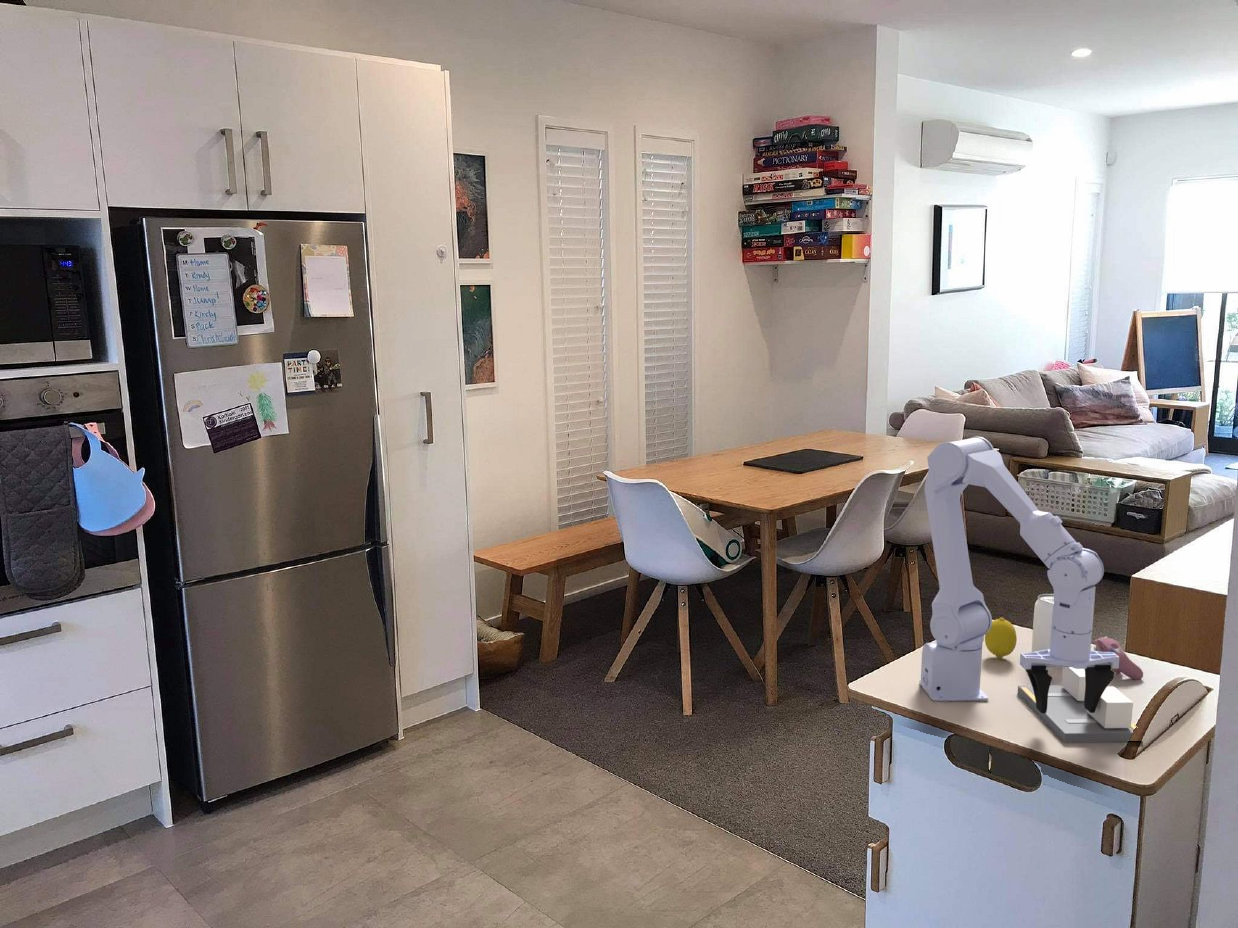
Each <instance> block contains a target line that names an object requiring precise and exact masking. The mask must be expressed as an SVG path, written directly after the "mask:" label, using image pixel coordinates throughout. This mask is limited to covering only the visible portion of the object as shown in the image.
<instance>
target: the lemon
mask: <svg viewBox="0 0 1238 928" xmlns="http://www.w3.org/2000/svg"><path fill="white" fill-rule="evenodd" d="M1017 638H1018V637H1017V632H1016V628H1015V626H1014V625H1013V624H1012V623H1011V622H1010V621H1008V620H1006V619H1005V618H1004V617H1000V618H996V619H994V620H992V626H991V629H990V630H989V631H988V633H986V634H985V635H984V643H985V647H986V648H987V650H988V652H990V653H991V654H992V655H993V656H995V657H996V658H997V659H1003V658H1004V657H1006V656H1009V655H1010V654H1012V653H1013V651H1014V650H1015V649H1016V645H1017V642H1018V641H1017V640H1018V639H1017Z"/></svg>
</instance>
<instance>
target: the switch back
mask: <svg viewBox="0 0 1238 928" xmlns="http://www.w3.org/2000/svg"><path fill="white" fill-rule="evenodd" d="M1061 685H1062V687H1063V688H1064V689H1065V690H1067V691H1068V692H1069V693H1070V694H1071V695H1072V696H1073V697H1074V698H1075V699H1076V700H1077V701H1084V697H1085V669H1075V668H1073V667H1062V676H1061Z"/></svg>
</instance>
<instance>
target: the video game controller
mask: <svg viewBox="0 0 1238 928" xmlns="http://www.w3.org/2000/svg"><path fill="white" fill-rule="evenodd" d="M1093 643H1094V645H1095V646H1093V651H1099V652H1113V653H1115V654H1116V655H1117V656H1119V667H1118V668H1111V670H1112V671H1113V672H1114V674H1116V675H1119V674H1120V673H1122V674H1123V675H1124V676H1126V677H1128V678H1129V679H1132V680H1135V681H1139V680H1142V679H1143V678H1144V672H1143V670H1142V669H1141V667H1140V666H1138V665H1137V664H1136V663H1135V662H1133V661H1132V659H1130V658H1129V656H1128V655H1127V654H1126V652H1125V651H1124V650H1123V649H1122V647H1121V645H1120V643H1119V642H1118V640H1116V639H1113V638H1111V637H1108V636H1107V635H1105V636H1104V637H1102V636H1101V637H1099V638H1097V639H1093Z"/></svg>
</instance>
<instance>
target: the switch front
mask: <svg viewBox="0 0 1238 928" xmlns="http://www.w3.org/2000/svg"><path fill="white" fill-rule="evenodd" d="M1133 709H1134V702H1133V701H1132V700H1131V699H1130V698H1128V697H1127V696H1126V695H1125V694H1124V693H1122V692H1121V691H1120V690H1119V689H1117V688H1116V687H1115V686H1107V687H1106V689H1105V690H1104V692H1103V694H1102V695H1101V698H1100V700H1099V702H1098V704H1097V707H1096V710H1095V713H1090V712H1089V711H1088V710H1087V712H1088V713H1089V714H1090V715H1091V716H1092V717H1093V718H1094V719H1095V720H1097V721H1098V722H1099V723H1100V724H1101V725H1102V726H1103V727H1104V728H1131V722H1133V721H1132V720H1133V719H1132V718H1133Z"/></svg>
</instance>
